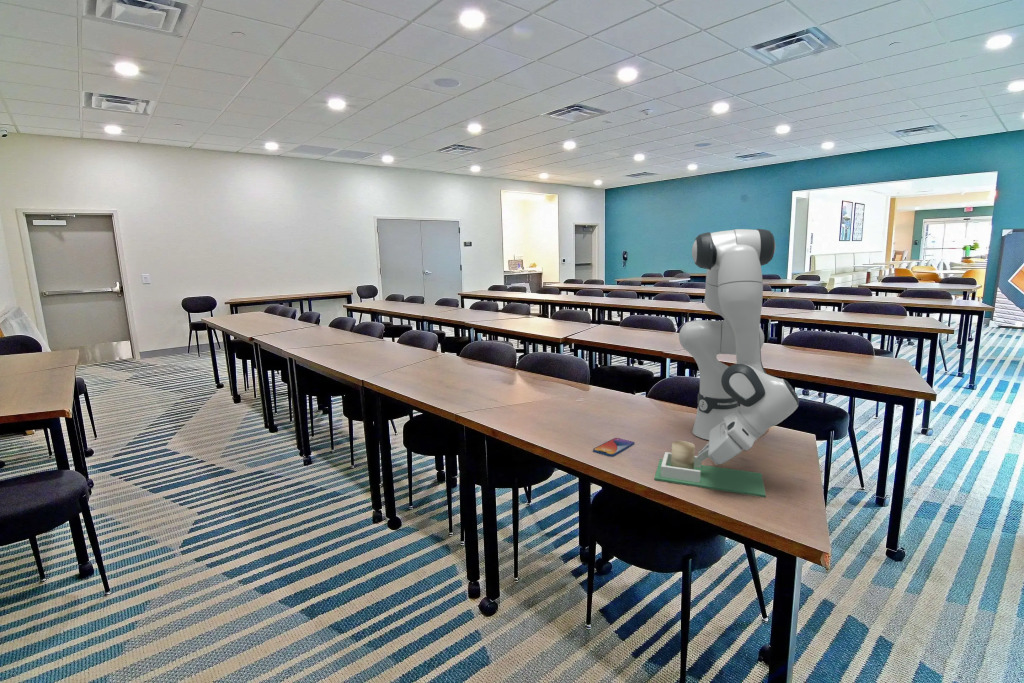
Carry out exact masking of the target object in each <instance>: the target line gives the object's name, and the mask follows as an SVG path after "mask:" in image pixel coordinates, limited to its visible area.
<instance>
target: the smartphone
mask: <svg viewBox="0 0 1024 683" xmlns="http://www.w3.org/2000/svg"><path fill="white" fill-rule="evenodd" d="M633 446H635V441H632V440H628V439H624V438H620V437H614V438H612V439H610V440H608V441H605V442H604V443H602V444H600V445H598V446H596V447H594V448H593V449H592V452H593V453H595V454H599V455H602V456H606V457H610V458H614V457H616V456H618V455H619V454H621V453H622V452H624V451H626V450H627V449H629V448H631V447H633Z"/></svg>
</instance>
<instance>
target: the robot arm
mask: <svg viewBox="0 0 1024 683" xmlns="http://www.w3.org/2000/svg"><path fill="white" fill-rule="evenodd" d="M775 252H776V241H775V237H774V234H773V233H772V232H771V230H769V229H764V228H763V229H762V228H757V229H751V228H749V229H746V228H744V229H743V228H737V229H734V228H733V229H731V230H721V231H714V232H703V233H701V234H698V235H697V236H696V238H695V239H694V242H693V244H692V248H691V256H692V260H693V261H694V264H695V265H696V266H697V267H698V268H699V269H700V268H701V269H704V270H705V269H706V275H705V286H704V289H705V290H704V291H705V292H704V303H705V304H704V305H705V306H706V307H707V309H709V310H710V311H712V312H713V313H715V314H717V315H719V316H721V317H722V318H723V320H702V319H701V320H700V319H699V320H693V321H686V322H685V323H684V324H682V327H680V330H679V333H678V340H679V343H680V345H681V347H682V348H683V349H684V351H686V352H687V353H688V354H690V356H692V358H693V359H694V362H696V364H697V367H698V371H699V392H697V409H696V416H695V421H694V423H693V428H692V430H691V431H692V434H693V435H694V436H696V437H697V438H700V439H703V440H707V441H708V443H706V444H705V445H704V447H703V448H702V449H701V450H700V451H699V450H698V452H697V456H698V459H699V460H700V461H702V462H704V460H707V459H710V460H711V461H712V462H713V463H714V464H715V465H717V466H719V465H720V466H721V465H723V464H725V463H727V462H729V461H730V460H731V459H734V458H735V457H737V456H738V455H739V454H741V453H742V451H745V452H747V451H749V450H750V449H752V448H753V446H754V443H755V442H756V441H757V440H758V439H759V438H760V437H762V436H763V435H764V434H765V433H766V432H767V431H768V430H769V429H771V428H772V427H774V426H777V425H778V424H780V423H782V422H783V421H784V420H786V419H787V418H788V417H789V416H791V415H792V414H794V412H795V411H796V410H797V409H798V407H799V405H800V404H799V403H800V399H799V396H798V395H797V393H796V390H795V389H794V388H793V386H792V385H791V384H790V383H789V382H788V381H787V380H786V379H784V378H779V377H776V376H773V375H770V374H768V373H767V371H766V370H765V368H764V365H763V362H762V355H761V354H762V350H761V349H762V348H763V346H764V342H765V334H764V331H763V329H762V327H760V325H761V316H762V315H761V314H762V308H763V307H762V306H763V297H764V295H763V294H764V284H763V283H764V282H763V271H762V266H764V265H768V264H769V263H770V262H771V261H772V260H773V258H774V255H775ZM718 355H730V356H731V355H732V356H735V357H736V363H735V364H732V365H729V366H728V365H727V364H725V363H723V362H721V361H720V360H719V359H718V358H717V356H718Z"/></svg>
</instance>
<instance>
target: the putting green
mask: <svg viewBox="0 0 1024 683" xmlns="http://www.w3.org/2000/svg"><path fill="white" fill-rule="evenodd" d="M671 454H672V452H670V451H669V452H668V451H665V452H664V455H663V459H662V458H660V459H659V461H658V465H657V468H656V472H655V475H654V478H653V480H654V481H656V482H657V481H658V482H664V483H670V484H676V485H683V486H690V487H695V488H696V487H697V488H702V489H710V490H715V491H722V492H728V493H735V494H740V495H746V496H747V495H748V496H753V497H759V498H761V497H762V498H766V497H767V495H766V489H765V485H764V481H763V480H764V479H763V473H761V472H758V471H757V472H756V471H748V470H741V469H733V468H728V467H727V468H726V467H722V466H721V467H719V466H712V465H706V464H705V465H704V464H702V462H703V461H700V460H699V459H698V455H694V470H693V469H686V468H679V467H672V466H671Z"/></svg>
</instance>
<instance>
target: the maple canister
mask: <svg viewBox="0 0 1024 683" xmlns="http://www.w3.org/2000/svg"><path fill="white" fill-rule="evenodd" d="M695 448H696V446H695V444H694V443H692V442H690V441H685V440H675V441H673V442H671V453H672V454H671V466H672V467H679V468H686V469H693V470H694V456H695V452H696V449H695Z"/></svg>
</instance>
